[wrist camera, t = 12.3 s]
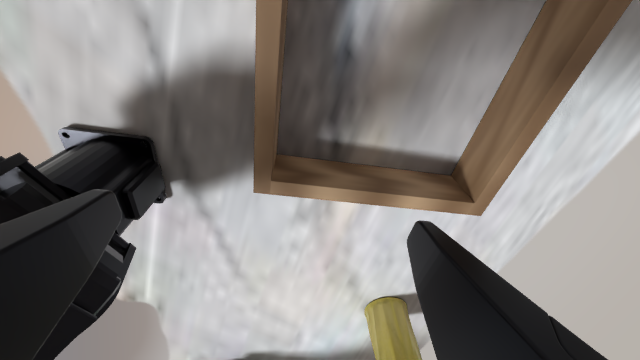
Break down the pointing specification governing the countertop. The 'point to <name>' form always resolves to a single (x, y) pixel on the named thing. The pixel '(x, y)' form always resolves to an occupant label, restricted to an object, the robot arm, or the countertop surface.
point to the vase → (391, 330)
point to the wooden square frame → (486, 143)
